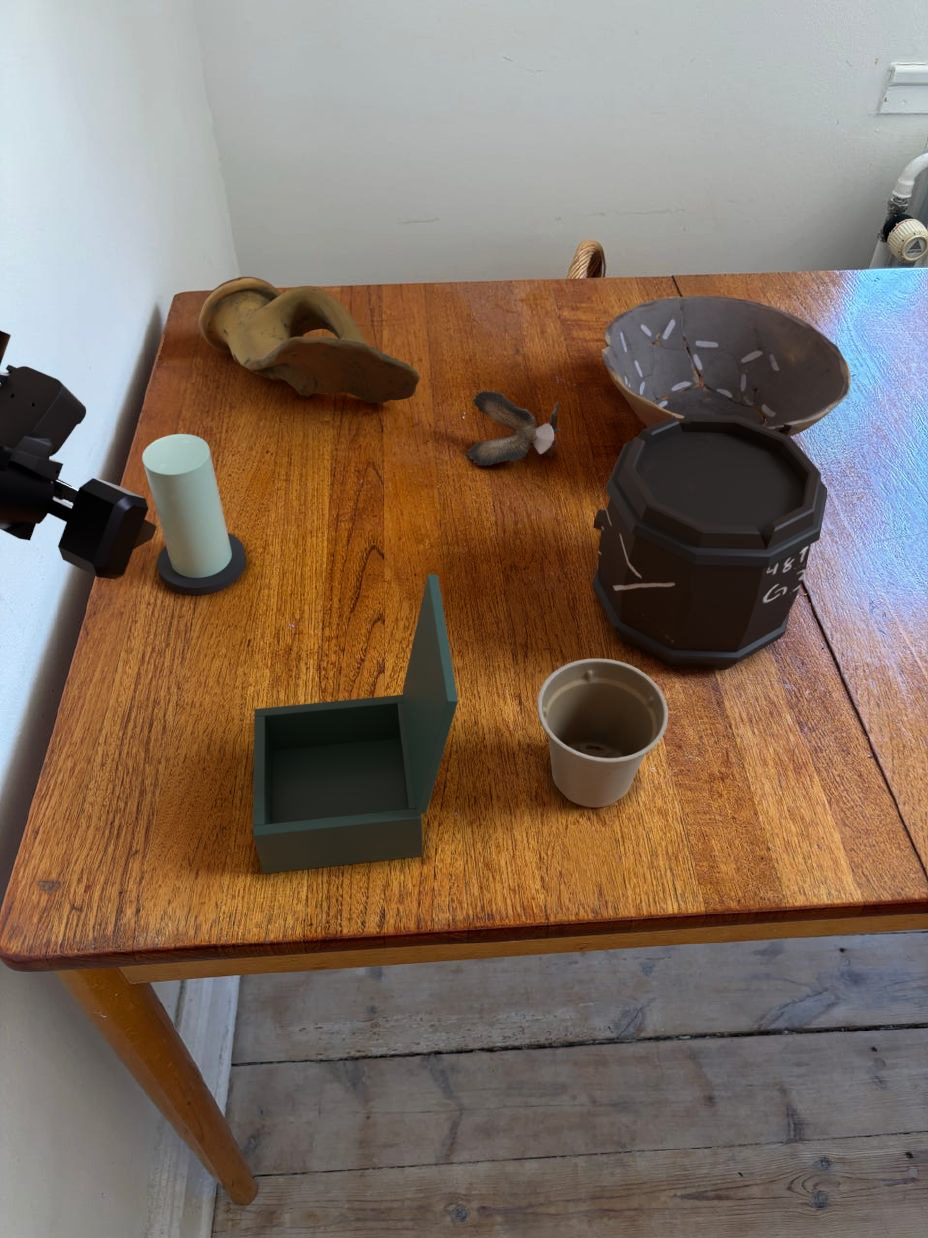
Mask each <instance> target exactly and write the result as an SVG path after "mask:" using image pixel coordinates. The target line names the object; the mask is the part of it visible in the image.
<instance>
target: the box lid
mask: <svg viewBox="0 0 928 1238" xmlns="http://www.w3.org/2000/svg"><path fill="white" fill-rule="evenodd" d="M438 575H439V574H435V573H434V574H432V573H429V574H427V577H426V581H425V586H424V590H423V595H422V599H421V604H420V607H419V613H418V617H417V622H416V627H415V631H414V635H413V640H412V645H411V650H410V654H409V659H408V662H407V668H406V673H405V676H404V681H403V686H402V690H401V691H402V695H403V700H404V708H405V717H406V725H407V734H408V743H409V751H410V760H411V768H412V777H413V786H414V794H415V803H416V811H417V814H421V815H426V814H427V812H428V809H429V807H430V806H429V805H430V802H431V799H432V795H433V792H434V787H435V786H436V785H435V784H436V781H437V778H438V773H439V770H440V767H441V763H442V760H443V756H444V753H445V748H446V747H447V746H446V745H447V742H448V738H449V734H450V731H451V728H452V724H453V720H454V717H455V713H456V711H457V710H456V709H457V707H458V703H459V699H458V698H459V697H458V691H457V686H456V679H455V673H454V667H453V661H452V655H451V649H450V644H449V643H450V642H449V638H448V637H449V636H448V630H447V625H446V619H445V612H444V606H443V600H442V594H441V588H440V582H439V576H438Z"/></svg>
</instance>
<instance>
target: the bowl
mask: <svg viewBox="0 0 928 1238" xmlns="http://www.w3.org/2000/svg"><path fill="white" fill-rule="evenodd" d="M603 339H604V343H605V345H606V346H604V348H602V349H601V358H602V361H603V363H604V365H605V367H606V370H607V372H608V374H609V376H610V378H611V381H612V382H613V384H614V385H615V387H616V388H617V389H618V391H619V392H620V393H621V395H622V396H623V397H624V398H625V400H626V402H627V403H628V405H629V406H630V407H631V409H632V411H633V412H634V413H635V415H636V416H637V417H638V418H639V419H640V420H641V421H642V423H643V424H644V425H645V427H646V428H648V427H651V426H653V425H655V424H658V423H660V422H662V421H665V420H667V419H669V418H672V417H674V416H675V417H676V418H677V420H678V421H680V420H681V419H683V418H684V417H685V416H686V415H687V414H708V415H738V416H741V417H743V418H746V419H748V420H750V421H753V422H755V423H758V424H760V425H763V426H765V427H767V428H770V429H772V430H775V431H777V432H780V433H782V434H784V435H787V436H789V437H791V438H792V437H793V436H796V435H798V434H800V433H803V432H804V431H806V430H808V429H809V428H811V427H813V426H814V425H815V424H817V423H818V422H819V421H821V420H822V419H824V418H825V417H826V416H827V415H829V414H830V413H831V412H832V411H833V410H834V409H835V408H837V406H839V405H840V404H841V403H842V402H843V401H844V400H845V399H846V398H847V396H848V395H849V393H850V390H851V383H852V381H851V380H852V378H851V377H852V376H851V375H852V374H851V370H850V367H849V363H848V361H847V360H846V359H845V357H844V355H843V354H842V351H841V350H840V349H839V347H838V345H836V344H835V343H834V342H833V341H832V340H830V338H828V337H827V336H826V335H825V334H824V333H823V332H821V331H820V330H818V329H817V328H815V326H813V325H812V324H810V323H808V322H807V321H805V320H803V319H802V318H800V317H798V316H796V315H794V314H792V313H790V312H786V311H783V310H781V309H779V308H776V307H774V306H770V305H766V304H764V303H762V302H757V301H754V300H750V299H744V298H737V297H728V296H717V295H687V296H686V295H685V296H678V295H676V296H669V297H662V298H656V299H652V300H651V299H650V300H646V301H644V302H641V303H639V304H637V305H634V306H632V307H631V308H628V309H626V310H625V311H623V312H621V313H619V314H617V315H616V316H615V317H614V318H613V319H612V320H611V322H610V323H609V324H608V325H607V326H606V327H605V330H604V331H603ZM701 381H702V382H703V386H701Z"/></svg>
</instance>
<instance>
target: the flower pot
mask: <svg viewBox="0 0 928 1238" xmlns="http://www.w3.org/2000/svg"><path fill="white" fill-rule="evenodd" d="M536 702H537V703H536V709H537V710H536V711H537V716H538V720H539V723H540V725H541V727H542V729H543V731H544V733H545V735H546V736H547V738H548V747H549V756H550V765H551V766H550V767H551V777H552V780H553V782H554V785H555V786H556V787H557V789H558V790H559V791H560V792H561V793H562V794H563V795H564V796H565V798H566V799H567V800H569V801H571V802H572V803H574V804H577V805H579V806H583V807H586V808H604V807H605V808H606V807H608V806H611V805H612V804H614V803H616V802H617V801H619V800H620V799H622V798H623V797H625V795H626V794H627V793H628V792H629V790H630V788H631V786H632V783H633V782H634V779H635V777H636V775H637V773H638V771H639V769H640V767H641V765H642V762H643V761H644V758H645V756H646V755H647V754H649V752H650V751H652V750H653V749H655V748H656V746H657V745H658V744H659V743H660V741H662V738H663V737H664V735H665V733H666V730H667V726H668V722H669V721H668V720H669V708H668V703H667V701H666V697H665V696H664V693H663V692H662V690H661V689H660V687H659V686H658V685H657V683H656V682H655V681H654V680H653V679H652V678H651V677H650V676H649V675H647V674H646V673H645V672H643V671H642V670H640V669H639V668H637V667H634V666H633V665H631V664H628V663H626V662H623V661H619V660H615V659H610V658H585V659H579V660H575V661H571V662H569V663H566V664H564V665H562V666H560V667H559V668H557V669H556V670H554V671H553V672H552V673H551V674H550V675H548V677H546V679H545V681H544V682H543V683H542V685H541V687H540V690H539V692H538V695H537V701H536ZM587 747H597V748H599V749H594V748H587Z"/></svg>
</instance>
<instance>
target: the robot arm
mask: <svg viewBox="0 0 928 1238" xmlns="http://www.w3.org/2000/svg"><path fill="white" fill-rule="evenodd" d="M11 336H12V334H10V333H8V332H5V331H3V330H2V329H1V330H0V366H1V365H2V362H3V359H4V356H5V354H6V351H7V348H8V345H9V342H10V339H11ZM5 370H6V371H7V372H6V371H5V372H3V371H0V530H1V531H4V533H7V534H9V535H11V536H13V537H15V538H17V539H18V540H19V539H20V540H23V541H31V539H32V536H33V534H34V530H35V529H36V525H39V524H41V523H42V522H43V521H44V520H45V519H46V517H47V516H48V514H49V515H50V516H53V517H55V518H57V519H59V520H60V521H63V522H65V525H64V528H63V530H62V534H61V536H60V538H59V539H60V540H59V542H58V545H57V547H58V550H59V553H60V556H61V558H62V561H64V562H67V563H68V564H71V565H72V566H74V567H76V568H79V570H83V572H86V573H88V574H90V575H92V576H94V577H95V578H100V579H109V580H118V579H119V578H121V577H123V576H125V573H126V571H127V567H128V565H129V562H130V560H131V557H132V554H133V552H134V550H135V549H137V548H138V547H140V546H142V545H143V544H146V543H148V542H149V541H151V540H153V539H154V536H155V534H156V531H157V525H156V524H154V523H152V522H151V521H149V520H147V519H146V517H147V514H148V511H149V505H148V502H147V499H146V497H143V496H141V495H139V494H137V493H135V492H132V491H130V490H128V489H126V488H124V487H121V486H119V485H117V484H114V483H112V482H108V481H105V480H103V479H98V478H95V477H91V478H90V479H89V480H88V481H86V482H85V483H83V484H81V486H79V487H78V489H77V488H75V487H73V486H72V485H71V484H69V483H67V482H65V481H63V480H61V479H59V477H60V474H61V472H62V469H63V467H64V463H63V462H61V461H58V460H57V459H53V458H51V457H53V456H54V455H56V454H57V453H58V452H59V451H60V450H61V448H62V447H63V446H64V444H65V443H66V441H67V440H68V438H69V437H70V436H71V434H72V433H73V431H74V430H75V428H77V426H78V425H80V424H81V423H82V422H83V421H84V419H85V418H86V416H87V407H86V406H85V405H84V403H83V402H81V401H80V400H79V399H78V397H77V396H75V394H74V393H72V391H71V390H70V389H68V387H67V386H66V385H65V384H64V383H63V382H62V381H61V380H59V379H58V378H56V377H54V376H51V375H49V374H47V373H45V372H41V371H40V370H36V369H34V368H32V367H29V366H26V365H23V366H18V367H16V366H14V365H11V364H7V366H6V367H5ZM66 501H67V502H66ZM70 503H72V504H70Z"/></svg>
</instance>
